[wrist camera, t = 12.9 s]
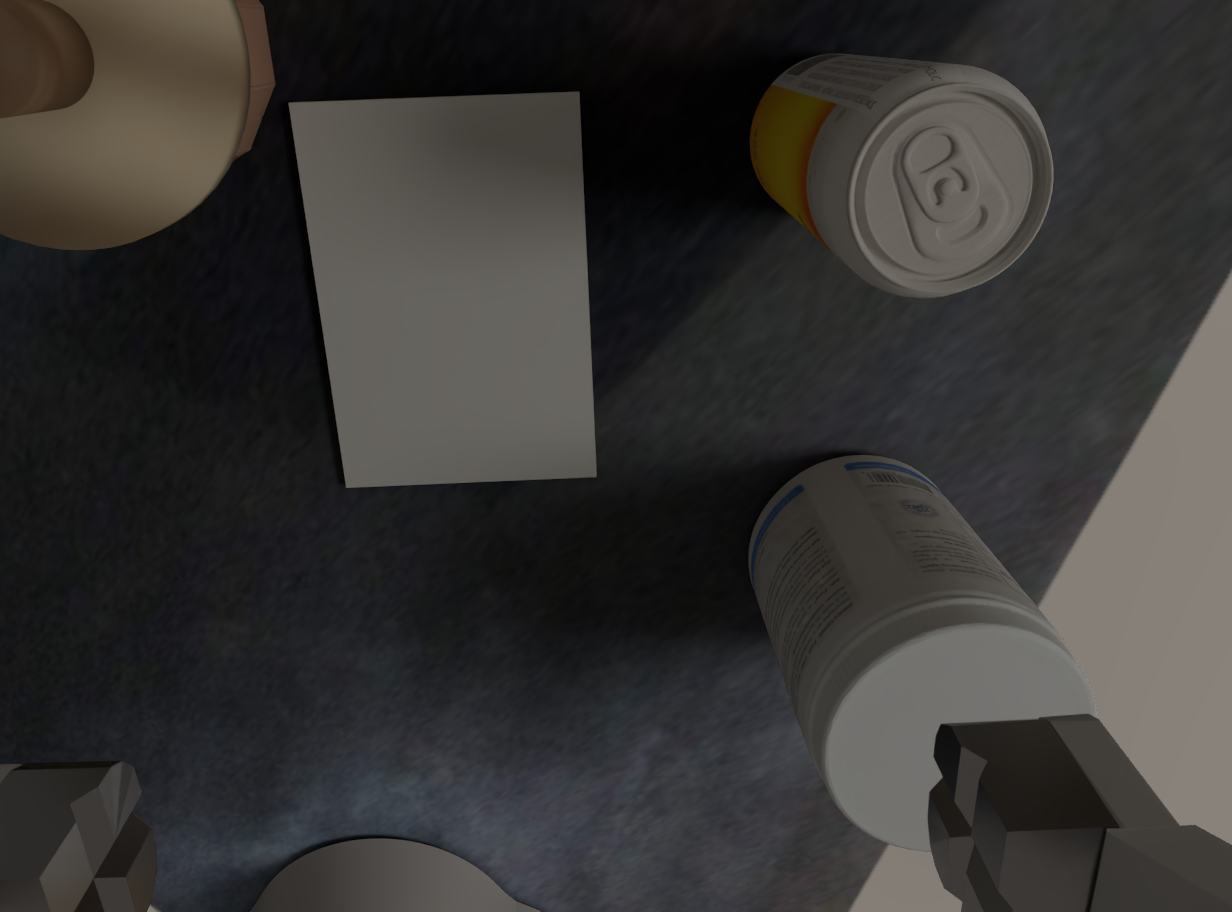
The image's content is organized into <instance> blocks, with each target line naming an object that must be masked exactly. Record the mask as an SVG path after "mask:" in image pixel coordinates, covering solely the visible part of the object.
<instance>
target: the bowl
mask: <svg viewBox="0 0 1232 912" xmlns="http://www.w3.org/2000/svg"><path fill="white" fill-rule="evenodd" d="M235 1H236V4H237V7H238V10H239V13H240V16H241V19H242V22H243V26H244V31H245V35H246V40H247V44H248V50H249V60H250V71H251V87H250V104H249V110H248V116H247V123H246V126H245V130H244V133H243V136H242V140H241V143H240V146H239V148H238V151H237V153H236V155H235V157H234V159H233V161H234V160H236V159H237V158H239V157H240V156H241V155H243V154H244V153H246V152H247V151H250V149H251V146H252V144H253V141H254V138H255V136H256V133H257V130H258V128H259V125H260V123H261V120H262V118H263V115H264V112H265V110H266V107H267V104H268V102H269V99H270V97H271V94H272V91H273V89H274V86H275V84H276V83H275V79H274V73H273V66H272V60H271V53H270V47H269V40H268V34H267V27H266V21H265V14H264V7H263V5H262V4H261V3H260V2H259V0H235ZM233 161H232V162H233Z"/></svg>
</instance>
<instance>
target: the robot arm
mask: <svg viewBox="0 0 1232 912" xmlns="http://www.w3.org/2000/svg"><path fill="white" fill-rule="evenodd" d="M933 757H934V759H935V761H936V763H937V766H938V768H939V770H940V772H941V774H942V776H943V777H942V779H941V780H940V781H939V782H938V783H937V784H936V785H935V786H934V787H933V788H932V789H931V790H930V792H929V803H928V816H927V820H928V830H929V840H930V848H931V851H932V855H933V859H934V863H935V866H936V869H937V872H938V874H939V877H940V879H941V882H942V884H943V886H944V888H945V889H946V890H947V891H949V892H950V893H952V894H953V895H954V896H956V897H957V898H958V899H960V900H961V901H962V909H961V912H1232V845H1230V844H1229V843H1226V842H1225V841H1223V840H1221V839H1220V838H1218V837H1216V836H1214V835H1212V834H1210V833H1209V832H1207V831H1205V830H1203V829H1201V828H1199V827H1198V826H1196V825H1187V826H1180V825H1179V824H1178V823H1177V821H1176V820H1175V819H1174V817H1173V816H1172V815H1171V813H1170V812H1169V811H1168V810H1167V808H1166V807H1165V806H1164V804H1163V803H1162V802H1161V801H1160V799H1159V798H1158V796H1157V795H1156V794H1155V793H1154V791H1153V790H1152V789H1151V787H1150V786H1149V785H1148V783H1147V782H1146V781H1145V779H1144V778H1143V777H1142V775H1141V774H1140V773H1139V771H1138V770H1137V769H1136V768H1135V766H1134V765H1133V764H1132V762H1131V761H1130V760H1129V758H1128V757H1127V756H1126V754H1125V753H1124V752H1123V750H1122V749H1121V748H1120V747H1119V745H1118V744H1117V743H1116V741H1115V740H1114V739H1113V737H1112V736H1111V735H1110V734H1109V732H1108V731H1107V730H1106V728H1105V727H1104V726H1103V724H1102V723H1101V722H1100V721H1099V719H1097V718H1095V717H1094V716H1092V715H1090V714H1076V715H1062V716H1048V717H1039V718H1038V719H1023V720H1004V721H984V722H965V723H945V724H941V725H940V727H939V729H938V732H937V734H936V738H935V746H934V754H933ZM141 794H142V792H141V789H140V786H139V783H138V780H137V776H136V773H135V770H134V767H133V766H131V765H129V764H127V763H125V762H123V761H97V762H54V763H25V764H23V765H21V764H0V912H147V910H148V908H149V906H150V903H151V900H152V895H153V890H154V885H155V880H156V875H157V853H156V845H155V841H154V837H153V833H152V829H151V828H150V827H149V826H148V825H147V824H145V823H144V822H143V821H142V820H141V819H140V818H138V817H137V816H136V815H135V814H134V813H132V810H133V808H134V806H135V805H136V803H137V801H138V799H139V798H140V796H141ZM249 912H541V911H539V910H537V909H534V908H532V907H530V906H527V905H525V904H522V903H520V902H517V901H515V900H514V899H513V898H511V897H510V896H509V895H507V894H506V893H505V892H504V891H503V890H502V889H501V888H500V887H499V886H498V885H497V884H496V883H495V882H494V881H493V880H492V879H491V878H489V877H488V876H487V875H486V874H485V873H484V872H482V871H481V870H479V869H478V868H477V867H475V866H474V865H472V864H471V863H469V862H467V861H465V860H464V859H462V858H460V857H458V856H456V855H454V854H451V853H449V852H447V851H444V850H442V849H439V848H436V847H433V846H429V845H425V844H422V843H417V842H412V841H405V840H397V839H360V840H352V841H346V842H341V843H337V844H333V845H329V846H326V847H323V848H320V849H318V850H315V851H313V852H311V853H309V854H306V855H304V856H302V857H301V858H299V859H297V860H295V861H294V862H292V863H291V864H289V865H288V866H287V867H285V868H284V869H283V870H282V871H281V872H279V873H278V874H277V875H276V876H275V877H274V878H273V879H272V881H271V882H270V883H269V884H268V885H267V887H266V888H265V890H264V891H263V893H262V894H261V896H260V898H259V899H258V901H257V902H256V904H255V905H254V907H253V908H252V909H251V910H250V911H249Z"/></svg>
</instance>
